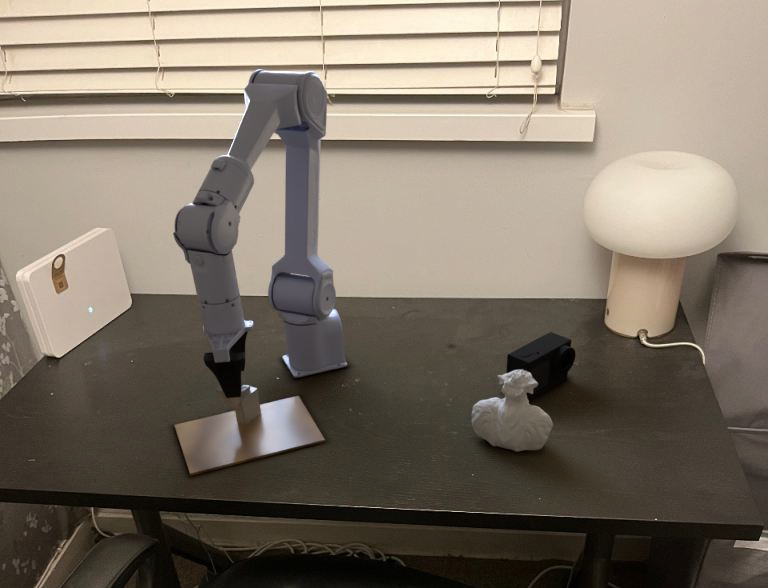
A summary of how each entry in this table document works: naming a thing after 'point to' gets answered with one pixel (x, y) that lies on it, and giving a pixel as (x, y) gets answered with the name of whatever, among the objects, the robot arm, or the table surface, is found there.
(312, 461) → the table surface
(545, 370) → the digital camera
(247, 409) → the lighter
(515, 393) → the bust
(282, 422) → the wooden board
